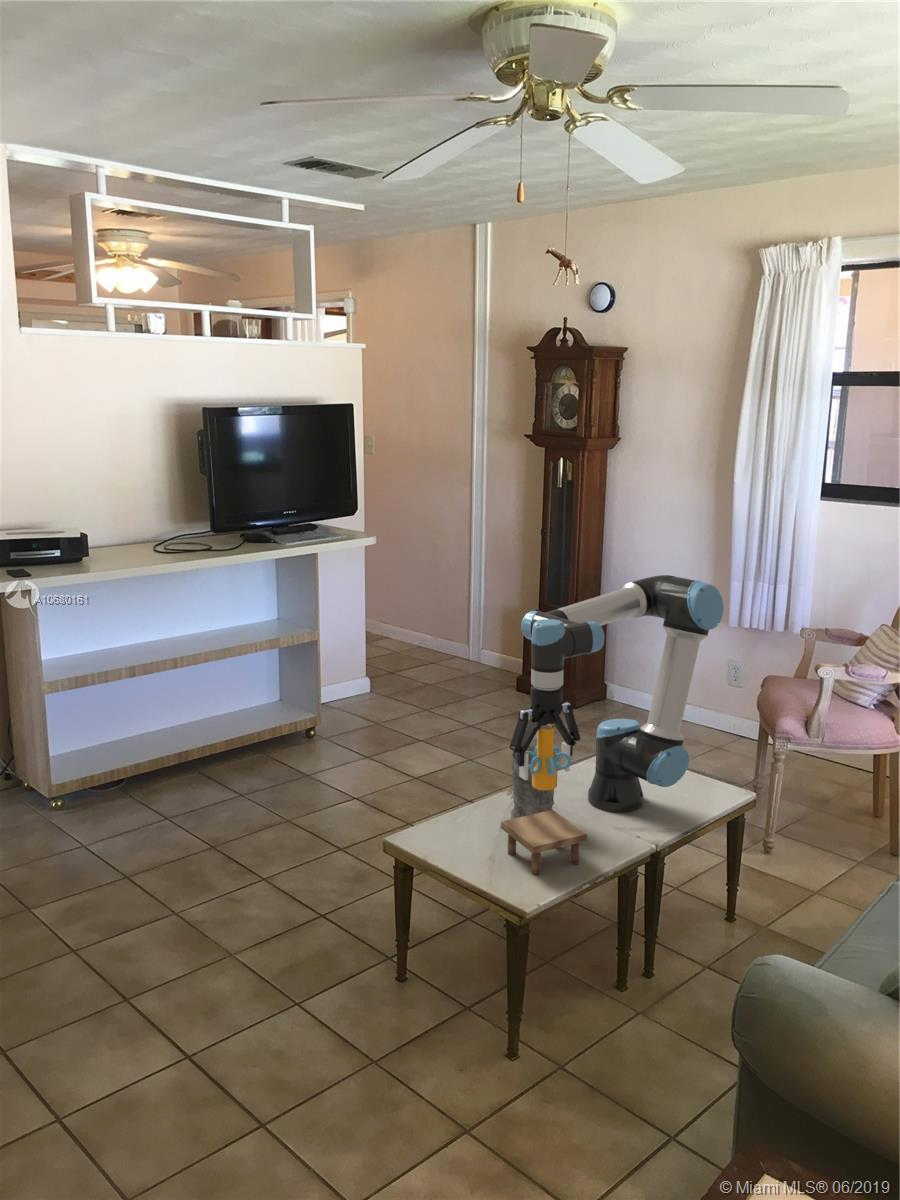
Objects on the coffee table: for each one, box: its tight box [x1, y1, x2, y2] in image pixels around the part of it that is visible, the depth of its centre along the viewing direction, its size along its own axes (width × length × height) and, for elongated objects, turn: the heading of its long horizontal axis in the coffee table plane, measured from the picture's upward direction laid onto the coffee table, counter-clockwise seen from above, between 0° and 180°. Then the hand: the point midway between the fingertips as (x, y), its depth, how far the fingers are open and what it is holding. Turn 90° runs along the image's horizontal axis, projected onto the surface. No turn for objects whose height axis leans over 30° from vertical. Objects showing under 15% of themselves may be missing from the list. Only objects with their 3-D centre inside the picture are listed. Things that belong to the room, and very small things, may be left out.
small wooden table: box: [500, 809, 588, 876], centre depth 233 cm, size 15×15×8 cm
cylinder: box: [526, 724, 572, 791], centre depth 228 cm, size 12×10×15 cm
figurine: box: [509, 733, 556, 819], centre depth 252 cm, size 10×14×25 cm
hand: (544, 773), depth 229 cm, fingers closed on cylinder, 11 cm apart
